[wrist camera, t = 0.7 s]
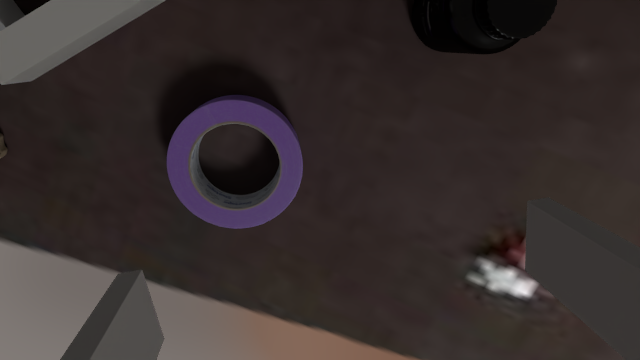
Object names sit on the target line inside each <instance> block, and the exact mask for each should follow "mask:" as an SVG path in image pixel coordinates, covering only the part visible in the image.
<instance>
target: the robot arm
mask: <svg viewBox="0 0 640 360" xmlns="http://www.w3.org/2000/svg"><path fill="white" fill-rule="evenodd" d="M525 271H526V272H528V273H529V274H530V275H531V276H532V277H533V278H534V279H536V280H537V281H538V282H539V283H540V284H541V285H542V286H543V287H545V288H546V289H547V290H548V291H549V292H550V293H551V294H552V295H554V296H555V297H556V298H557V299H558V300H559V301H560V302H561V303H563V304H564V305H565V306H566V307H567V308H568V309H569V310H570V311H572V312H573V313H574V314H575V315H576V316H577V317H578V318H580V319H581V320H582V321H583V322H584V323H585V324H586V325H587V326H589V327H590V328H591V329H592V330H593V331H594V332H595V333H596V334H598V335H599V336H600V337H601V338H602V339H603V340H604V341H605V342H607V343H608V344H609V345H610V346H611V347H612V348H613V349H615V350H616V351H617V352H618V353H619V354H620V355H621V356H622V357H624V358H625V359H626V360H640V247H638V246H636V245H634V244H632V243H630V242H629V241H627V240H625V239H623V238H621V237H620V236H618V235H616V234H614V233H612V232H610V231H609V230H607V229H605V228H603V227H601V226H599V225H598V224H596V223H594V222H592V221H590V220H589V219H587V218H585V217H583V216H581V215H579V214H578V213H576V212H574V211H572V210H570V209H568V208H567V207H565V206H563V205H561V204H559V203H558V202H556V201H554V200H552V199H550V198H543V199H537V200H532V201H527V229H526V261H525ZM163 340H164V336H163V333H162V330H161V327H160V324H159V321H158V318H157V315H156V312H155V308H154V306H153V303H152V299H151V296H150V293H149V290H148V287H147V284H146V281H145V277H144V274H143V271H142V270H137V271H132V272H126V273H121V274H118V275H117V276H116V278H115V279H114V281H113V282H112V284H111V285H110V287H109V288H108V290H107V291H106V293H105V294H104V296H103V297H102V298H101V300H100V301H99V303H98V304H97V306H96V307H95V309H94V310H93V312H92V314H91V315H90V317H89V318H88V319H87V321H86V322H85V324H84V325H83V327H82V328H81V330H80V331H79V333H78V334H77V336H76V337H75V339H74V340H73V342H72V343H71V345H70V346H69V347H68V349H67V350H66V352H65V353H64V355H63V356H62V358H61V359H60V360H157V357H158V354H159V351H160V349H161V346H162V343H163Z"/></svg>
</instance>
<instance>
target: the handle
mask: <svg viewBox="0 0 640 360" xmlns="http://www.w3.org/2000/svg"><path fill="white" fill-rule="evenodd" d="M3 137H4V136H3V135H2V134H1V133H0V158H2V157H3V156H5V155H6V153H7V148H6V146H5V144H4V140H3Z"/></svg>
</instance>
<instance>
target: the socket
mask: <svg viewBox="0 0 640 360" xmlns="http://www.w3.org/2000/svg"><path fill="white" fill-rule="evenodd" d="M164 1H165V0H50V1H49V2H47V3H45V4H44V5H42V6H41V7H39V8H37V9H36V10H34V11H32V12H31V13H29V14H28V15H26V16H25V15H24V14H23V12H22V11H21V10H20V8H19V7H18V6H17V4H16V3H15V2H14V0H0V84H1V85H5V84H13V83H21V82H29V81H33V80H34V79H36V78H38V77H39V76H41V75H43V74H44V73H46V72H47V71H49V70H51V69H52V68H54V67H56V66H57V65H59V64H61V63H62V62H64V61H66V60H67V59H69V58H71V57H72V56H74V55H76V54H77V53H79V52H81V51H82V50H84V49H86V48H87V47H89V46H91V45H92V44H94V43H96V42H97V41H99V40H101V39H102V38H104V37H106V36H107V35H109V34H111V33H112V32H114V31H116V30H117V29H119V28H121V27H122V26H124V25H125V24H127V23H129V22H130V21H132V20H134V19H135V18H137V17H139V16H140V15H142V14H144V13H145V12H147V11H149V10H150V9H152V8H154V7H155V6H157V5H159V4H160V3H162V2H164Z"/></svg>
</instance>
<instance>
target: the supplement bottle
mask: <svg viewBox="0 0 640 360" xmlns="http://www.w3.org/2000/svg"><path fill="white" fill-rule="evenodd" d="M556 5H557V0H414V4H413V8H412V22H413V26H414V30H415V32H416V34H417V36H418V37H419V39H420V40H421V41H422V42H423V43H424V44H425V45H426V46H427V47H429V48H431V49H433V50H436V51H440V52H449V53H467V54H493V53H498V52H501V51H504V50H506V49H508V48H510V47H511V46H513V45H514V44H516V43H517V42H518V41H519V40H520V39H521V38H527V37H529V36H530V35H534V34H535V33H536V32H537V31H540V30H541V28H542V27H543V26H545V25H546V24H547V21H549V20H550V19H551V15H552V14H553V13H554V10H555V6H556Z"/></svg>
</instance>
